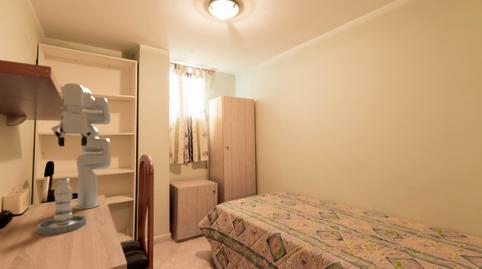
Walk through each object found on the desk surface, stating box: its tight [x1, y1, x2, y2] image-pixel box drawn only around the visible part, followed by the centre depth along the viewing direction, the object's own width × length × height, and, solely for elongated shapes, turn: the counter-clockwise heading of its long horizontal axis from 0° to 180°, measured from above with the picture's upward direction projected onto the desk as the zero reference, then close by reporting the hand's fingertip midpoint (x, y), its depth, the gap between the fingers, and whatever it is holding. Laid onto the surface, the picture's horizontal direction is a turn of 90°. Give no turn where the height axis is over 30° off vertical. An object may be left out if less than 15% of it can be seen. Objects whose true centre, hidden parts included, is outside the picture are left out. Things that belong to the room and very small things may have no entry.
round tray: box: [36, 215, 87, 236], centre depth 102 cm, size 17×17×2 cm
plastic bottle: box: [53, 178, 74, 225], centre depth 103 cm, size 6×7×20 cm
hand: (73, 145), depth 109 cm, fingers open, 9 cm apart
